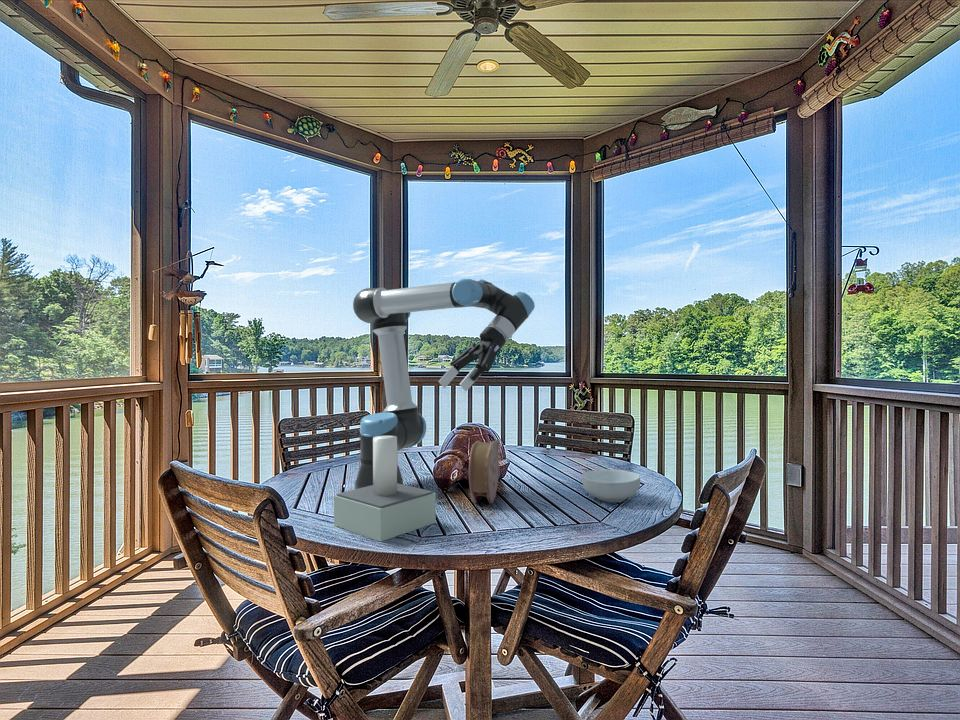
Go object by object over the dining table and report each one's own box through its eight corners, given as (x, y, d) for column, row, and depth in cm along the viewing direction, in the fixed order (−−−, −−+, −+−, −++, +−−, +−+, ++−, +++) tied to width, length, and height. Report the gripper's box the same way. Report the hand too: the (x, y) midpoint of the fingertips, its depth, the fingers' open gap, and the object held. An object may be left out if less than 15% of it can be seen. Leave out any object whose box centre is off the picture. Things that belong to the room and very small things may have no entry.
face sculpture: (492, 508, 153) (492, 448, 153) (468, 507, 154) (467, 447, 154) (500, 489, 173) (500, 437, 172) (479, 489, 174) (479, 436, 174)
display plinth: (334, 525, 138) (333, 493, 138) (389, 509, 152) (389, 480, 152) (380, 541, 127) (380, 507, 126) (435, 522, 140) (435, 491, 140)
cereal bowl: (593, 488, 174) (593, 466, 174) (646, 496, 165) (646, 472, 165) (573, 501, 159) (573, 477, 159) (630, 510, 151) (631, 484, 151)
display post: (368, 492, 139) (367, 437, 139) (386, 488, 143) (386, 434, 143) (383, 497, 135) (383, 440, 135) (402, 492, 140) (401, 437, 139)
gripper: (527, 342, 155) (481, 398, 148) (483, 343, 176) (441, 392, 169) (511, 323, 152) (463, 379, 145) (469, 326, 174) (425, 375, 167)
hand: (451, 386), depth 157 cm, fingers open, 13 cm apart
